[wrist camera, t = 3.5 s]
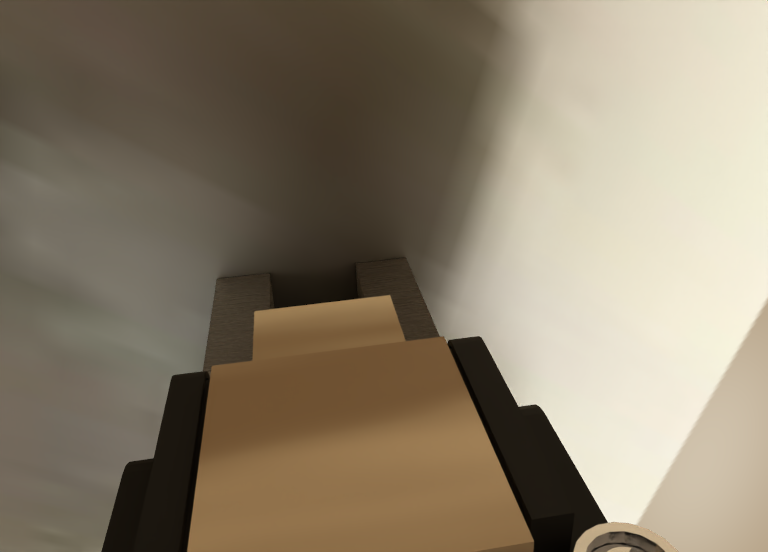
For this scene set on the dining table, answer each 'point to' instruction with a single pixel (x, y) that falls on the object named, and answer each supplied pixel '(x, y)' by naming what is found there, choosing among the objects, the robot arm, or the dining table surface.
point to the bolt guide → (254, 293)
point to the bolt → (348, 443)
